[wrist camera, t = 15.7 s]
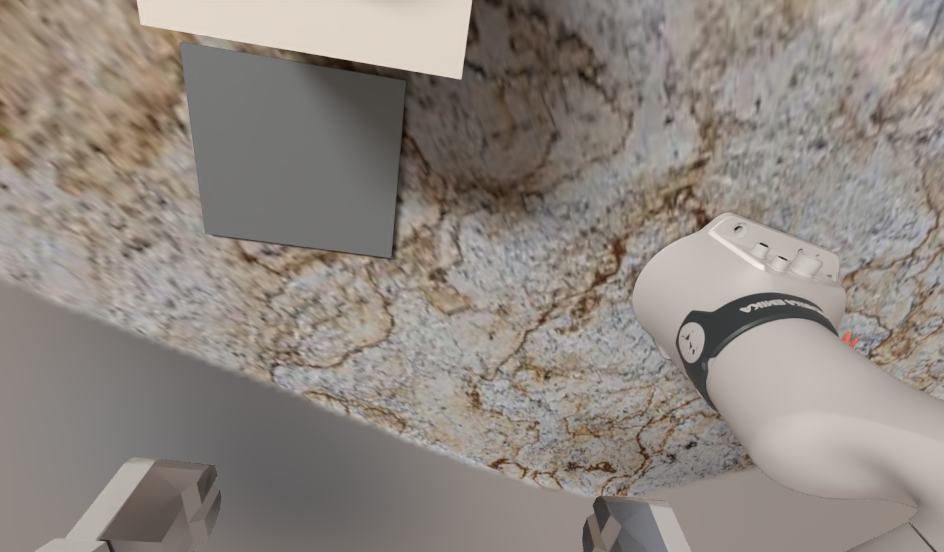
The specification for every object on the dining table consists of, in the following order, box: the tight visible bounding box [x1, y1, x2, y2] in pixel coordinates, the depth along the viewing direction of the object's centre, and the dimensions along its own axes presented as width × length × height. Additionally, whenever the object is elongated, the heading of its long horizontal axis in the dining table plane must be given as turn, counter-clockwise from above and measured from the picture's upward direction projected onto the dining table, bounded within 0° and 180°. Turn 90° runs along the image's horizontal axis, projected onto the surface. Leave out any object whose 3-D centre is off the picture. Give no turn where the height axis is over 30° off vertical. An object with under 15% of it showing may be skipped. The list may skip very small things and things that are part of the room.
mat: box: [180, 42, 406, 258], centre depth 42 cm, size 19×18×1 cm
